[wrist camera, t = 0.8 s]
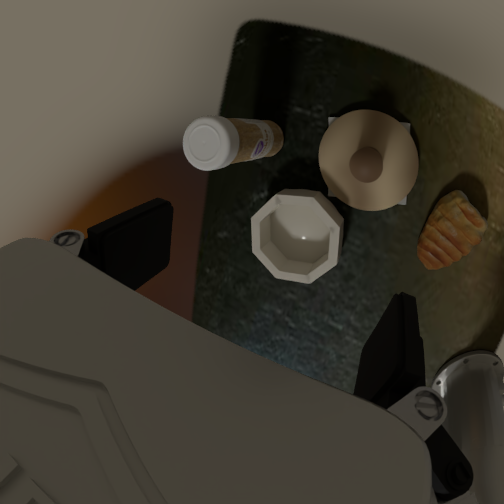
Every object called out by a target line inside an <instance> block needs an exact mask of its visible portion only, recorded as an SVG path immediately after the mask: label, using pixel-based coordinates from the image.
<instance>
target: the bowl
mask: <svg viewBox="0 0 504 504" xmlns="http://www.w3.org/2000/svg"><path fill="white" fill-rule="evenodd" d="M251 225H252V252H253V253H254V254H255V255H256V256H257V258H258V259H259V260H260V261H261V262H262V263H263V264H264V265H265V266H266V268H267V269H268V270H269V271H270V272H271V273H272V274H273V275H274V277H275V278H279V279H285V280H291V281H296V282H302V283H309V284H310V283H311V282H313V281H314V280H316V279H317V278H318V277H320V276H321V275H323V274H324V273H325V272H327V271H328V270H330V269H331V268H332V267H334V266H335V265H336V264H337V263H338V260H339V257H340V255H341V252H342V240H343V226H344V218H343V217H342V216H341V215H340V214H339V212H338V210H337V209H336V207H335V206H334V205H333V204H332V202H331V201H330V200H328V199H327V198H326V197H325V196H324V195H323V194H322V193H321V192H320V191H311V190H307V189H284V190H282V191H280V192H279V193H277V194H275V195H274V196H273V197H272V198H271V199H270V200H269V201H268V202H267V203H266V204H265V205H264V206H263V207H262V208H261V209H260V210H259V211H258V212H257V213H256V214H255V215H254V216H253V217H252V218H251Z"/></svg>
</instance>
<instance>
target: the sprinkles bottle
mask: <svg viewBox="0 0 504 504" xmlns="http://www.w3.org/2000/svg"><path fill="white" fill-rule="evenodd" d="M283 141H284V137H283V132H282V130H281V128H280V127H279V126H278V125H277V124H276V123H274V122H272V121H270V120H255V119H238V118H231V119H228V118H224V117H221V116H202V117H199V118H197V119H195V120H194V121H193V122H192V123H190V125H189V126H188V127H187V129H186V131H185V133H184V137H183V148H184V153H185V155H186V158H187V159H188V161H189V162H190V163H191V164H192V165H193V166H194V167H196V168H198V169H201V170H206V171H209V170H215V169H220V168H223V167H225V166H227V165H229V164H232V163H237V162H241V161H249V160H254V159H258V158H261V157H270V156H273V155H275V154H276V153H277V152H278V151H279V150H280V149H281V148H282V146H283Z"/></svg>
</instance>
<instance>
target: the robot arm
mask: <svg viewBox="0 0 504 504" xmlns="http://www.w3.org/2000/svg"><path fill="white" fill-rule="evenodd" d="M172 220H173V207H172V206H171V203H170V202H169V201H167V200H164V199H161V198H156V199H153V200H151V201H148V202H146V203H143V204H141V205H139V206H137V207H134V208H132V209H130V210H127V211H125V212H123V213H121V214H118V215H116V216H114V217H112V218H110V219H107V220H105V221H103V222H101V223H99V224H97V225H94V226H92V227H90V228H88V229H87V233H88V238H86V239H84V235H83V233H81V232H80V231H77V230H64V231H60V232H58V233H56V234H55V235H53V236H52V238H51V239H50V241H45V240H42V239H36V238H23V239H19V240H17V241H14V242H12V243H10V244H8V245H6V246H4V247H2V248H0V504H504V410H503V406H504V394H503V393H504V383H503V376H504V367H503V363H502V361H501V359H500V358H499V357H498V355H496V354H495V353H493V352H490V351H484V350H478V351H471V352H467V353H464V354H462V355H459V356H457V357H455V358H454V359H452V360H450V361H449V362H448V363H446V364H445V365H444V366H443V367H442V368H441V369H440V370H439V371H438V373H437V374H436V375H435V377H434V379H433V382H432V387H431V388H429V387H426V385H425V362H424V348H423V339H422V338H421V337H420V333H419V323H418V314H417V305H416V298H415V297H413V296H411V295H408V294H406V293H404V292H401V293H400V294H399V295H398V294H395V295H394V296H393V298H392V300H391V301H390V303H389V305H388V307H387V309H386V310H385V312H384V314H383V315H382V317H381V319H380V321H379V322H378V324H377V326H376V327H375V329H374V331H373V332H372V334H371V335H370V337H369V339H368V340H367V342H366V343H365V345H364V347H363V350H362V353H361V358H360V364H359V369H358V374H357V379H356V384H355V389H354V394H351V393H348V392H346V391H343V390H341V389H338V388H336V387H333V386H331V385H329V384H326V383H324V382H321V381H319V380H316V379H313V378H311V377H309V376H306V375H304V374H301V373H299V372H296V371H294V370H292V369H289V368H287V367H285V366H282V365H280V364H278V363H275V362H273V361H271V360H269V359H266V358H264V357H262V356H260V355H258V354H255V353H253V352H251V351H249V350H247V349H245V348H242V347H240V346H238V345H236V344H234V343H232V342H230V341H228V340H226V339H224V338H221V337H219V336H217V335H215V334H213V333H211V332H209V331H207V330H205V329H203V328H201V327H199V326H198V325H196V324H194V323H192V322H190V321H188V320H186V319H184V318H182V317H180V316H178V315H177V314H175V313H172V312H171V311H169V310H167V309H165V308H164V307H162V306H160V305H158V304H156V303H155V302H153V301H151V300H149V299H147V298H146V297H144V296H142V295H141V294H139V293H137V292H135V290H136V289H138V288H139V287H140V286H142V285H143V284H144V283H146V282H147V281H149V280H150V279H151V278H152V277H154V276H155V275H157V274H158V273H159V272H161V271H162V270H163V269H165V268H166V267H167V266H168V264H169V260H170V245H171V232H172ZM502 394H503V395H502Z"/></svg>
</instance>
